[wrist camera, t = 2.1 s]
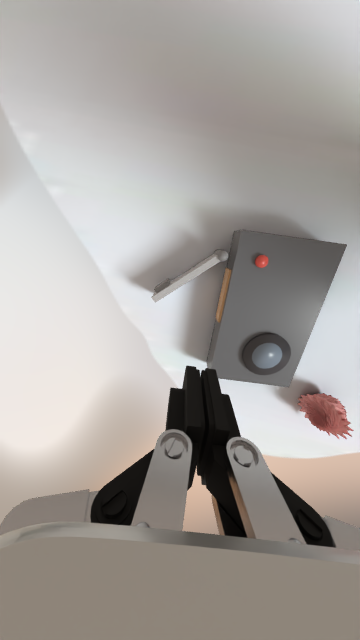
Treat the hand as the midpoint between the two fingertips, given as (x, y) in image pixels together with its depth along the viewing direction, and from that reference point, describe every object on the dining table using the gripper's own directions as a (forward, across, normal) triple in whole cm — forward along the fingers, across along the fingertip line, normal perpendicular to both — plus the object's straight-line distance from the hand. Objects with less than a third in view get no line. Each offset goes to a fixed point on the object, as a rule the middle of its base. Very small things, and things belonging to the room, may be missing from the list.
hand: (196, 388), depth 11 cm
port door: (+19, +1, -4) cm, 19 cm away
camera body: (+19, -10, 0) cm, 22 cm away
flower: (+19, -24, +15) cm, 34 cm away
